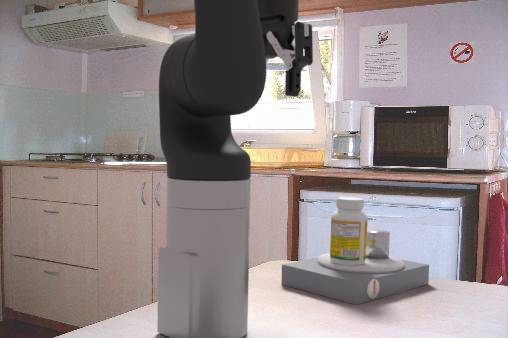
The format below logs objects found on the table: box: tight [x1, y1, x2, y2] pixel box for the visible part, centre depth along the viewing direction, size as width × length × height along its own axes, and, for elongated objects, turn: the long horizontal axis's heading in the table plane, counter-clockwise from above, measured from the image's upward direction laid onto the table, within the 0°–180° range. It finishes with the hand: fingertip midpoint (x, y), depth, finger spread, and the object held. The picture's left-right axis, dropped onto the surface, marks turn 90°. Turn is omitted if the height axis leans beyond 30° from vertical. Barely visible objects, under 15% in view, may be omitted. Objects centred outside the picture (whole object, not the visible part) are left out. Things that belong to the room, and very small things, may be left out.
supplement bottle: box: [329, 196, 368, 266], centre depth 86 cm, size 5×5×10 cm
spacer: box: [366, 229, 391, 259], centre depth 91 cm, size 4×4×4 cm
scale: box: [281, 252, 430, 306], centre depth 87 cm, size 18×14×4 cm
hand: (271, 97), depth 88 cm, fingers open, 8 cm apart
